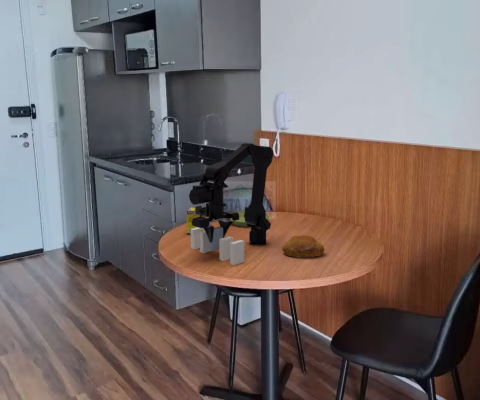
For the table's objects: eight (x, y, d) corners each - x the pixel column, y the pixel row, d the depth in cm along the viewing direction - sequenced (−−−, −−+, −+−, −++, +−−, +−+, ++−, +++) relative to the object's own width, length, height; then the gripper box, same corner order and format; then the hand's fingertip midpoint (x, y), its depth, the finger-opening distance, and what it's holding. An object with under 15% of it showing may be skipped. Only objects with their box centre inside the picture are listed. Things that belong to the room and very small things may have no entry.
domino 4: (233, 258, 180) (233, 237, 178) (223, 261, 177) (222, 240, 175) (230, 256, 182) (229, 236, 180) (219, 259, 178) (219, 238, 177)
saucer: (219, 226, 224) (219, 219, 223) (233, 216, 243) (233, 210, 242) (263, 230, 218) (263, 223, 217) (273, 219, 237) (274, 212, 236)
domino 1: (204, 247, 193) (203, 227, 192) (194, 249, 190) (193, 229, 188) (201, 245, 195) (200, 226, 193) (191, 248, 192) (190, 228, 190)
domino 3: (223, 247, 184) (223, 227, 182) (212, 250, 181) (212, 230, 179) (219, 246, 186) (219, 226, 184) (209, 249, 182) (209, 228, 181)
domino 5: (244, 262, 176) (244, 241, 174) (233, 265, 173) (233, 243, 171) (240, 260, 177) (240, 239, 176) (230, 263, 174) (229, 242, 172)
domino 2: (213, 250, 189) (213, 230, 187) (203, 253, 186) (202, 233, 184) (210, 249, 190) (210, 229, 189) (200, 252, 187) (199, 232, 186)
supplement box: (200, 235, 209) (199, 211, 207) (186, 234, 210) (186, 210, 208) (203, 231, 215) (203, 207, 212) (190, 231, 216) (190, 207, 213)
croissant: (322, 265, 178) (325, 245, 176) (280, 257, 181) (283, 237, 179) (322, 252, 192) (326, 233, 190) (284, 245, 195) (287, 226, 192)
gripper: (221, 193, 191) (222, 232, 195) (182, 200, 179) (183, 241, 183) (240, 198, 183) (240, 238, 186) (200, 205, 171) (201, 248, 174)
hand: (216, 241), depth 183 cm, fingers closed on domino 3, 5 cm apart
